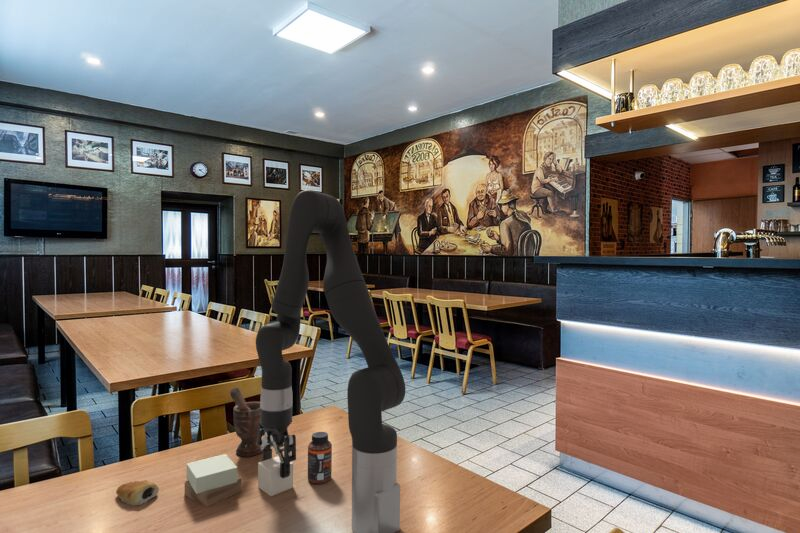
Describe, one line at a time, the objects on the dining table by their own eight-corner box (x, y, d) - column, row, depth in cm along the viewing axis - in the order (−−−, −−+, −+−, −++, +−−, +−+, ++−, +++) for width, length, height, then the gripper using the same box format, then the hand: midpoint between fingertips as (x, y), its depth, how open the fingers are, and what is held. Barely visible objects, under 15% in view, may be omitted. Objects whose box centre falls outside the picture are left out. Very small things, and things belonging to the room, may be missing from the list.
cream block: (293, 487, 113) (293, 463, 113) (270, 496, 109) (270, 470, 108) (280, 479, 117) (280, 455, 117) (258, 487, 113) (258, 462, 113)
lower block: (241, 492, 111) (241, 477, 111) (207, 508, 104) (207, 493, 104) (219, 481, 116) (219, 467, 116) (184, 496, 109) (184, 481, 109)
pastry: (107, 500, 107) (107, 483, 106) (134, 487, 113) (134, 471, 113) (136, 509, 103) (136, 491, 103) (162, 495, 109) (162, 478, 109)
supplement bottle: (326, 486, 113) (326, 439, 113) (303, 483, 115) (303, 437, 114) (334, 474, 119) (335, 430, 119) (313, 472, 121) (313, 428, 120)
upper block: (237, 482, 109) (237, 467, 109) (196, 493, 103) (196, 478, 103) (225, 467, 116) (225, 453, 116) (186, 478, 111) (186, 463, 110)
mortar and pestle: (258, 462, 126) (258, 389, 125) (226, 463, 125) (226, 389, 125) (267, 445, 137) (268, 377, 137) (237, 446, 137) (238, 378, 136)
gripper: (306, 408, 110) (305, 476, 111) (275, 394, 120) (274, 456, 121) (277, 416, 105) (276, 487, 106) (248, 400, 115) (247, 465, 116)
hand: (275, 470), depth 113 cm, fingers open, 8 cm apart
